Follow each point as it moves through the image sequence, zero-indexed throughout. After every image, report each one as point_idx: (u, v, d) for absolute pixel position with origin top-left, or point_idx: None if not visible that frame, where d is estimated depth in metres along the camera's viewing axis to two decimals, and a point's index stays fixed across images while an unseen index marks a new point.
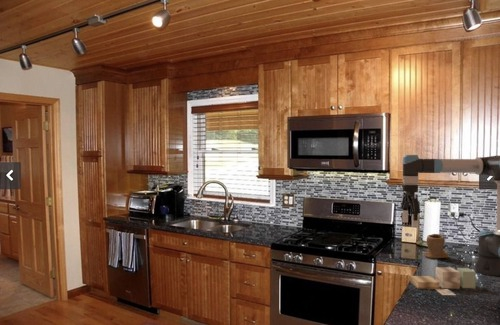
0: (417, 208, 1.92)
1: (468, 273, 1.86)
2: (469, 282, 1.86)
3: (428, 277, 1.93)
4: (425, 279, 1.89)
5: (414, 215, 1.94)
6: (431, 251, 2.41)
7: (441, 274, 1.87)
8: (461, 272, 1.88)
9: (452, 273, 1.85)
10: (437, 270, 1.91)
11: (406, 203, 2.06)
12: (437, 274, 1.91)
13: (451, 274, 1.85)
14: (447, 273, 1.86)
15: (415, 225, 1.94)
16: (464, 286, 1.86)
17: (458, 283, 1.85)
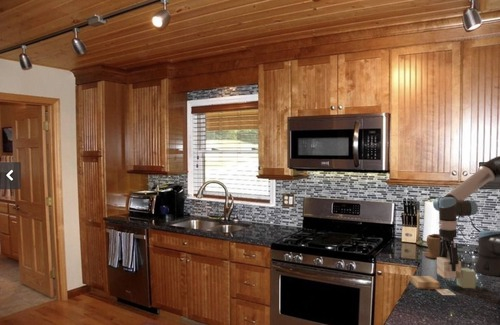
0: (456, 259, 1.82)
1: (468, 273, 1.86)
2: (469, 282, 1.86)
3: (428, 277, 1.93)
4: (425, 279, 1.89)
5: (452, 265, 1.84)
6: (431, 251, 2.41)
7: (442, 264, 1.87)
8: (461, 272, 1.88)
9: None
10: (438, 260, 1.92)
11: (444, 250, 1.92)
12: (438, 264, 1.92)
13: None
14: (448, 263, 1.86)
15: (453, 276, 1.85)
16: (464, 286, 1.86)
17: (460, 272, 1.85)
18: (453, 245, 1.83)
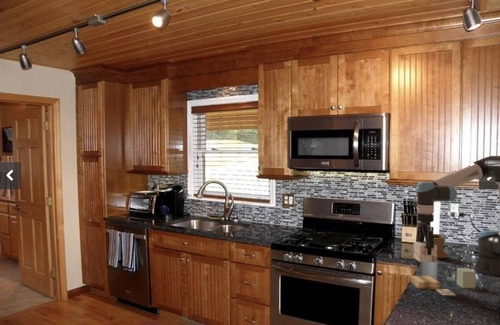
0: (431, 242, 1.82)
1: (468, 273, 1.86)
2: (469, 282, 1.86)
3: (428, 277, 1.93)
4: (425, 279, 1.89)
5: (428, 249, 1.84)
6: None
7: (418, 248, 1.87)
8: (461, 272, 1.88)
9: None
10: (415, 244, 1.92)
11: (421, 234, 1.93)
12: (415, 248, 1.92)
13: None
14: (424, 246, 1.86)
15: (429, 260, 1.85)
16: (464, 286, 1.86)
17: (435, 256, 1.86)
18: (429, 229, 1.83)
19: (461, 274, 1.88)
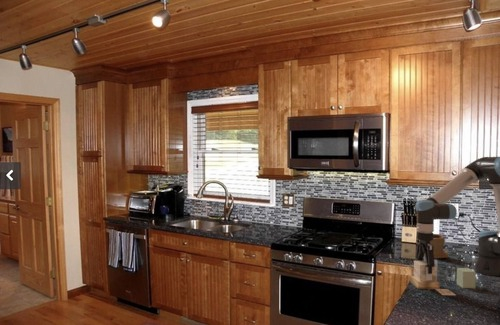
0: (432, 261, 1.82)
1: (468, 273, 1.86)
2: (469, 282, 1.86)
3: None
4: None
5: (428, 268, 1.84)
6: None
7: (419, 267, 1.88)
8: (461, 272, 1.88)
9: None
10: (415, 263, 1.92)
11: (421, 252, 1.93)
12: (415, 267, 1.92)
13: None
14: (424, 266, 1.86)
15: (429, 278, 1.84)
16: (464, 286, 1.86)
17: (435, 276, 1.86)
18: (429, 247, 1.83)
19: (461, 274, 1.88)
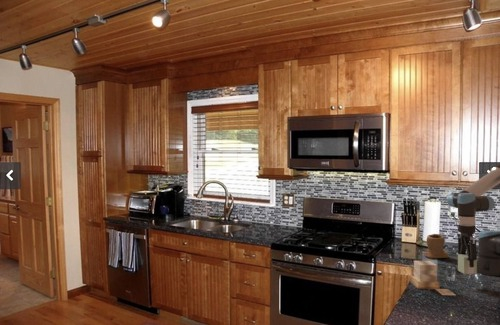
0: (474, 255, 1.83)
1: None
2: None
3: None
4: None
5: (470, 261, 1.85)
6: (431, 251, 2.41)
7: (419, 267, 1.88)
8: (462, 258, 1.88)
9: (429, 266, 1.86)
10: (415, 263, 1.92)
11: (463, 246, 1.91)
12: (415, 267, 1.92)
13: (428, 267, 1.86)
14: (424, 266, 1.86)
15: (471, 272, 1.86)
16: (465, 272, 1.86)
17: (435, 276, 1.86)
18: (472, 241, 1.82)
19: (462, 260, 1.88)
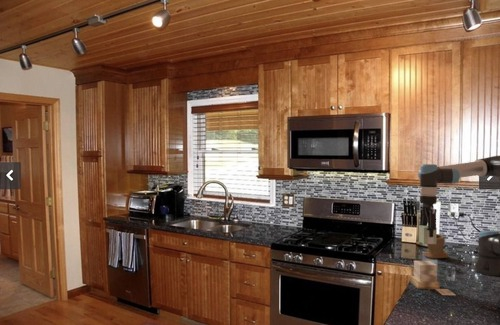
0: (434, 225, 1.83)
1: None
2: None
3: None
4: None
5: (430, 231, 1.85)
6: (431, 251, 2.41)
7: (419, 267, 1.88)
8: (422, 228, 1.88)
9: (429, 266, 1.86)
10: (415, 263, 1.92)
11: (425, 217, 1.92)
12: (415, 267, 1.92)
13: (428, 267, 1.86)
14: (424, 266, 1.86)
15: (430, 242, 1.86)
16: (425, 242, 1.87)
17: (435, 276, 1.86)
18: (432, 211, 1.83)
19: (422, 230, 1.88)
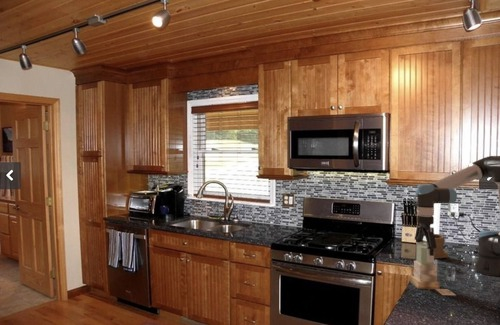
0: (433, 243, 1.81)
1: (426, 249, 1.87)
2: (427, 258, 1.87)
3: None
4: None
5: (430, 250, 1.82)
6: None
7: (419, 267, 1.88)
8: (420, 249, 1.88)
9: (429, 266, 1.86)
10: (415, 263, 1.92)
11: (420, 235, 1.94)
12: (415, 267, 1.92)
13: (428, 267, 1.86)
14: (424, 266, 1.86)
15: (431, 260, 1.83)
16: (422, 262, 1.87)
17: (435, 276, 1.86)
18: (429, 229, 1.83)
19: (420, 251, 1.88)
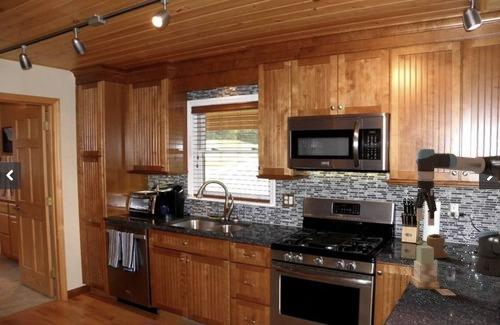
0: (434, 205, 1.80)
1: (426, 249, 1.87)
2: (427, 258, 1.87)
3: None
4: None
5: (430, 213, 1.82)
6: None
7: (419, 267, 1.88)
8: (420, 249, 1.88)
9: (429, 266, 1.86)
10: (415, 263, 1.92)
11: (421, 200, 1.94)
12: (415, 267, 1.92)
13: (428, 267, 1.86)
14: (424, 266, 1.86)
15: (431, 224, 1.83)
16: (422, 262, 1.87)
17: (435, 276, 1.86)
18: (430, 192, 1.83)
19: (420, 251, 1.88)
